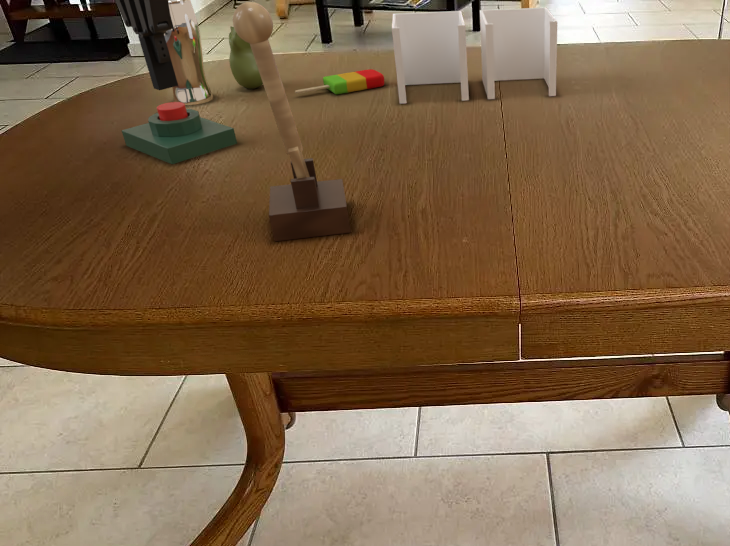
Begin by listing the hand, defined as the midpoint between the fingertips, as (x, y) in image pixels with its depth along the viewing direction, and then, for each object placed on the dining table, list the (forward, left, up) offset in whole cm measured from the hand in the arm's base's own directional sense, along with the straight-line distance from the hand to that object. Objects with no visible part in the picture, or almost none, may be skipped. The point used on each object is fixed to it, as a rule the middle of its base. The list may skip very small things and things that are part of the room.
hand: (166, 86), depth 99 cm
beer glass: (-18, +13, -8) cm, 24 cm away
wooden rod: (+33, -7, +5) cm, 35 cm away
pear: (-16, +23, -8) cm, 29 cm away
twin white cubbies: (+16, +44, -8) cm, 47 cm away
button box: (0, 0, -8) cm, 8 cm away
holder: (+35, -5, -8) cm, 36 cm away
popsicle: (-3, +31, -8) cm, 32 cm away
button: (0, 0, -4) cm, 4 cm away
